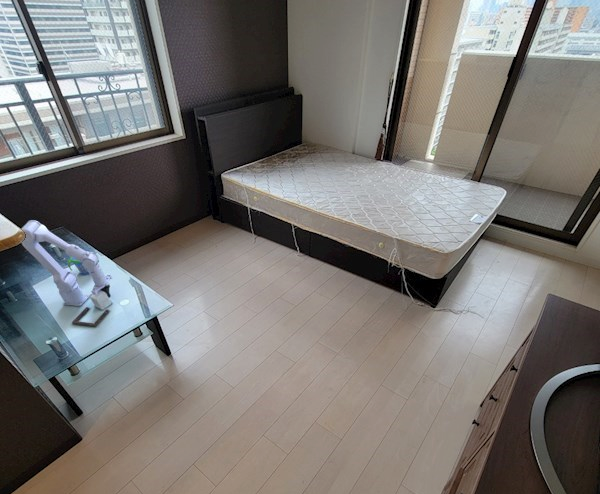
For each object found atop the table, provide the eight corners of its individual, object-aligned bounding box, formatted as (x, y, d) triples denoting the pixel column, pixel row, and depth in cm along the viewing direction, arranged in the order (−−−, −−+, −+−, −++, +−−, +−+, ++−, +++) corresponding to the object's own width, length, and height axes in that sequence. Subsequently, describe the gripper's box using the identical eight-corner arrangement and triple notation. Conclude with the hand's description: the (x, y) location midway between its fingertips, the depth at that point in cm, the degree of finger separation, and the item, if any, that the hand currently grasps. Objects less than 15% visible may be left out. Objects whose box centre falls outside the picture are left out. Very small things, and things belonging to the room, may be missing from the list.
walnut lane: (72, 324, 167) (71, 322, 166) (87, 308, 176) (86, 307, 175) (95, 327, 166) (94, 325, 165) (109, 311, 174) (108, 309, 173)
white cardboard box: (112, 303, 179) (106, 292, 173) (101, 310, 175) (95, 299, 170) (104, 299, 181) (98, 288, 176) (94, 306, 177) (88, 295, 172)
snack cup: (100, 262, 207) (93, 248, 200) (103, 271, 201) (96, 256, 194) (71, 270, 201) (63, 255, 194) (74, 279, 194) (66, 264, 187)
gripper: (96, 285, 166) (107, 306, 175) (113, 268, 176) (122, 289, 186) (83, 284, 167) (94, 305, 176) (100, 267, 177) (110, 288, 187)
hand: (108, 296), depth 181 cm, fingers closed
